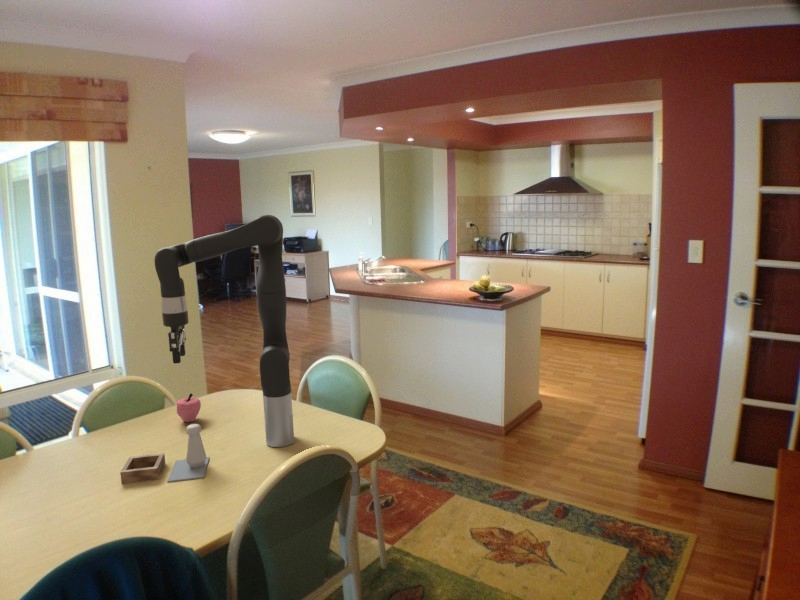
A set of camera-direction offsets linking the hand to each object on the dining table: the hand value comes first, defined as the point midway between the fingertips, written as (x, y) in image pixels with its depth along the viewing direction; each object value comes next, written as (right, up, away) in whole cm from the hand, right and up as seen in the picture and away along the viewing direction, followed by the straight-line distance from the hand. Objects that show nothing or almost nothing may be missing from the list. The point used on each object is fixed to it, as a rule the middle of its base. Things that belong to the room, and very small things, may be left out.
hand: (179, 359), depth 176 cm
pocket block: (-6, -33, -12) cm, 36 cm away
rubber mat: (+7, -32, -10) cm, 35 cm away
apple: (-7, -26, +27) cm, 38 cm away
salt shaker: (+9, -32, -9) cm, 34 cm away
